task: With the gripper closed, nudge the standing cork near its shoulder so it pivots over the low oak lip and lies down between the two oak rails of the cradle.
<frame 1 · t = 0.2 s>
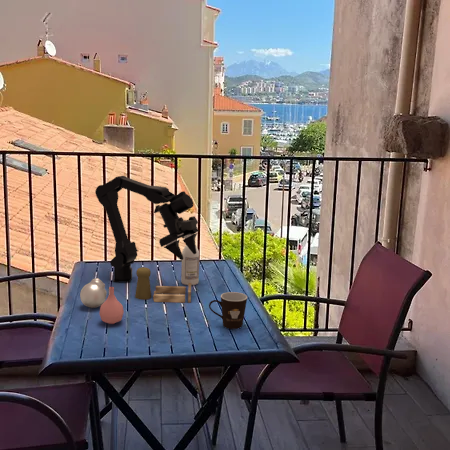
hand: (188, 256, 209), 15 cm above the table, tool tilted 30°, fingers open, 9 cm apart
pink bulb vase: (111, 323, 182), on the table
cork: (143, 297, 207), on the table
cradle: (167, 297, 208), on the table
coffee mug: (228, 325, 185), on the table
bath foam: (189, 283, 225), on the table
silver christmas ornament: (94, 307, 196), on the table
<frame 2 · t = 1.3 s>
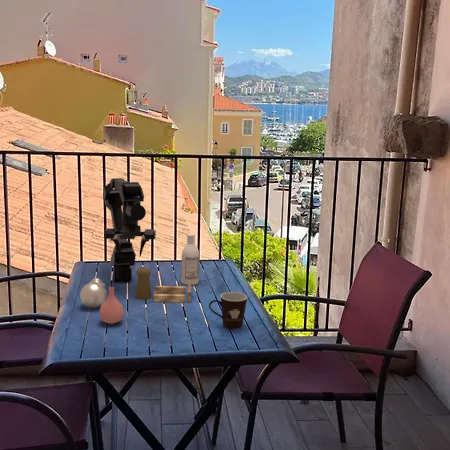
hand: (130, 256, 212), 13 cm above the table, tool pointing down, fingers open, 7 cm apart
nothing on the table moved.
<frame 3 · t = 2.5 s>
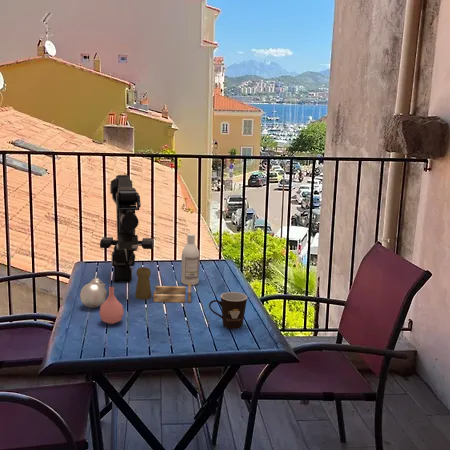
hand: (127, 266, 204), 12 cm above the table, tool pointing down, fingers closed
nothing on the table moved.
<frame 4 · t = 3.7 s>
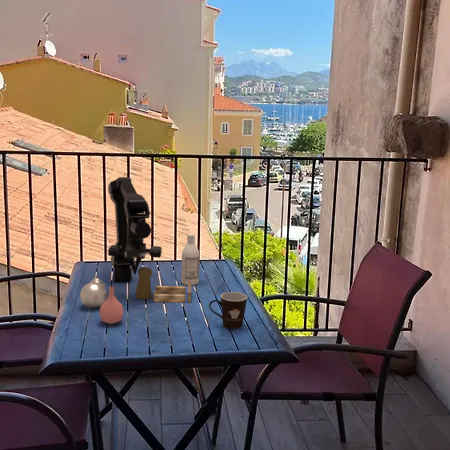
hand: (135, 273, 205), 9 cm above the table, tool pointing down, fingers closed
cork: (143, 296, 207), on the table, touching gripper
everything else where it was.
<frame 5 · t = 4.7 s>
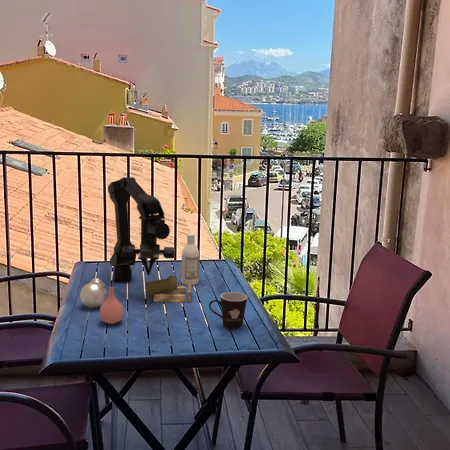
hand: (148, 274, 205), 9 cm above the table, tool pointing down, fingers closed
cork: (148, 289, 206), point 3 cm above the table
everything else where it was.
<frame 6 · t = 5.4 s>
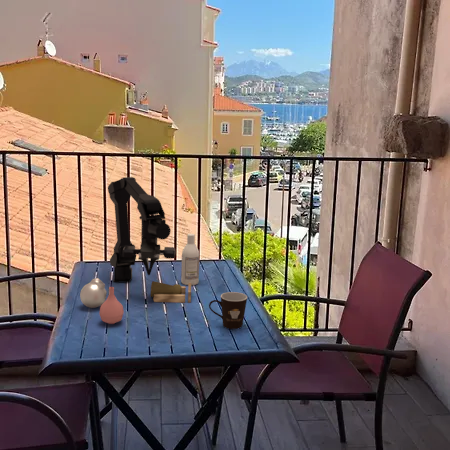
hand: (148, 274, 205), 8 cm above the table, tool pointing down, fingers closed
cork: (151, 289, 207), point 3 cm above the table, touching cradle
everything else where it was.
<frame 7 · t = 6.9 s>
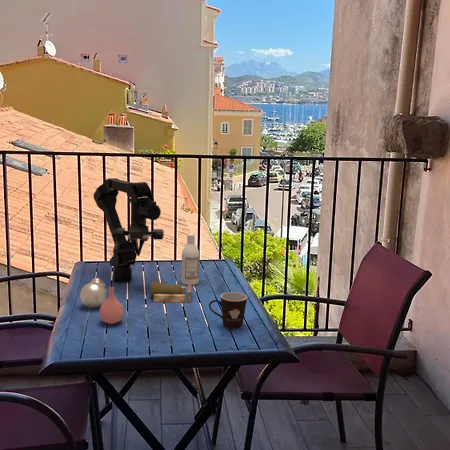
hand: (138, 255, 214), 13 cm above the table, tool pointing down, fingers closed
nothing on the table moved.
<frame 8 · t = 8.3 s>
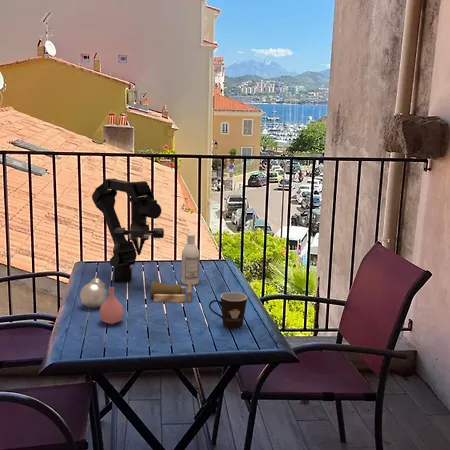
hand: (139, 254, 214), 13 cm above the table, tool pointing down, fingers closed
nothing on the table moved.
at the end: cork tilted 93°; cork inside the target area (3.7 cm from its centre), point 3.0 cm above the table; the gripper is holding nothing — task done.
